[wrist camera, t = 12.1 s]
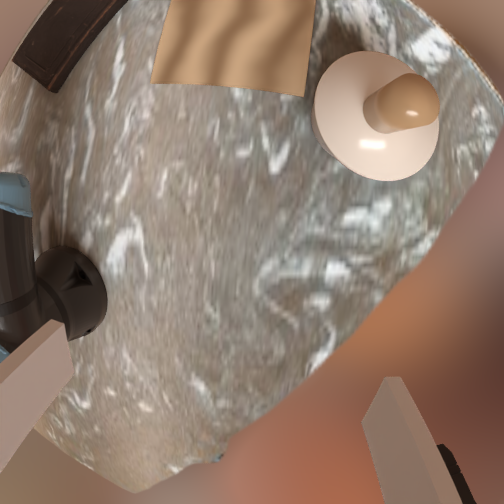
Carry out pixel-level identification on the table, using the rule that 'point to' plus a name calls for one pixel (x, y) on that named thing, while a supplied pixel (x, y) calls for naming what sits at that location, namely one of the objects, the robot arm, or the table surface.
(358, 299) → the table surface
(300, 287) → the table surface
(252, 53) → the mat
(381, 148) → the lid
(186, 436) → the table surface
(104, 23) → the hardcover book
